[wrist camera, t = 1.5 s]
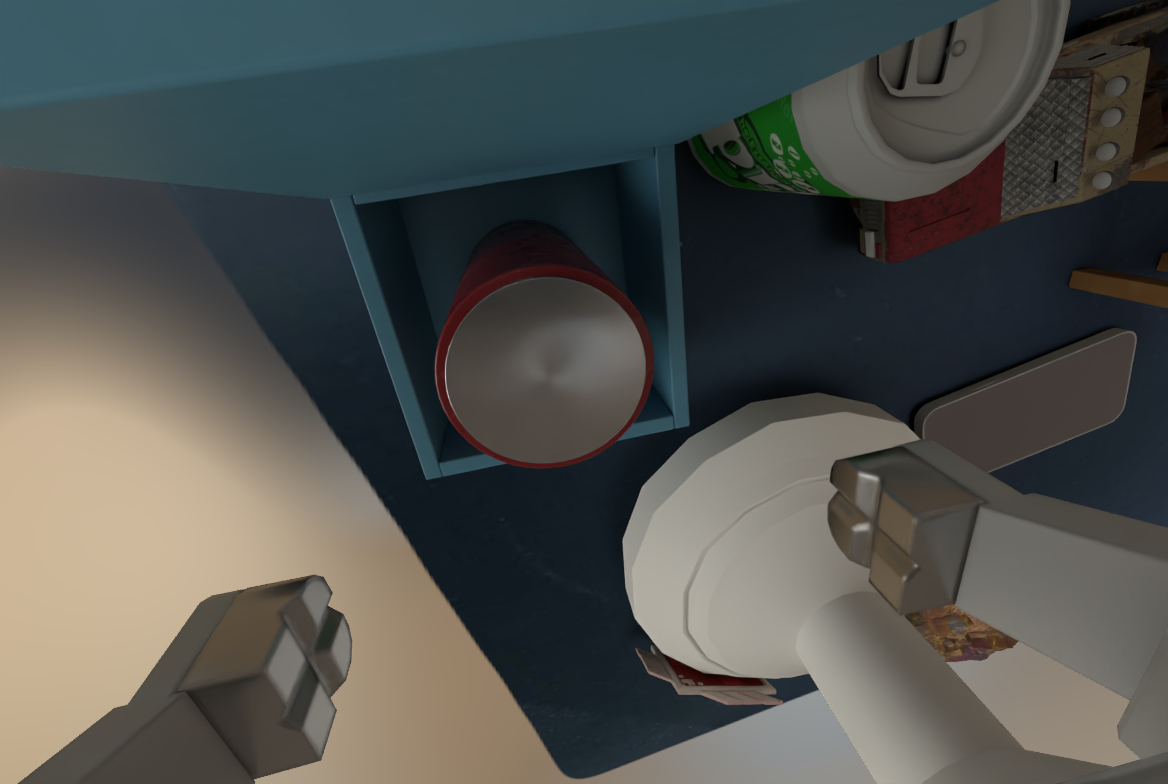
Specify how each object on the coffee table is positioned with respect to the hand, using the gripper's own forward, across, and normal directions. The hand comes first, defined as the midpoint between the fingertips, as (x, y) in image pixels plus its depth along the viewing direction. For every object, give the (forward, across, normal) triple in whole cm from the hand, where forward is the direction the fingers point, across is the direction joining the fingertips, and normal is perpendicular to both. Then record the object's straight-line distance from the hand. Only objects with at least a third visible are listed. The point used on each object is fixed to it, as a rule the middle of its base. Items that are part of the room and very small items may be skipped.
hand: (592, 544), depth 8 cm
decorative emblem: (+13, -4, +25) cm, 28 cm away
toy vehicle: (+20, -25, -4) cm, 32 cm away
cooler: (+19, 0, 0) cm, 19 cm away
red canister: (+19, 0, 0) cm, 19 cm away
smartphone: (+20, -31, +14) cm, 39 cm away
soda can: (+20, -12, -7) cm, 24 cm away
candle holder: (+20, -12, +18) cm, 29 cm away
